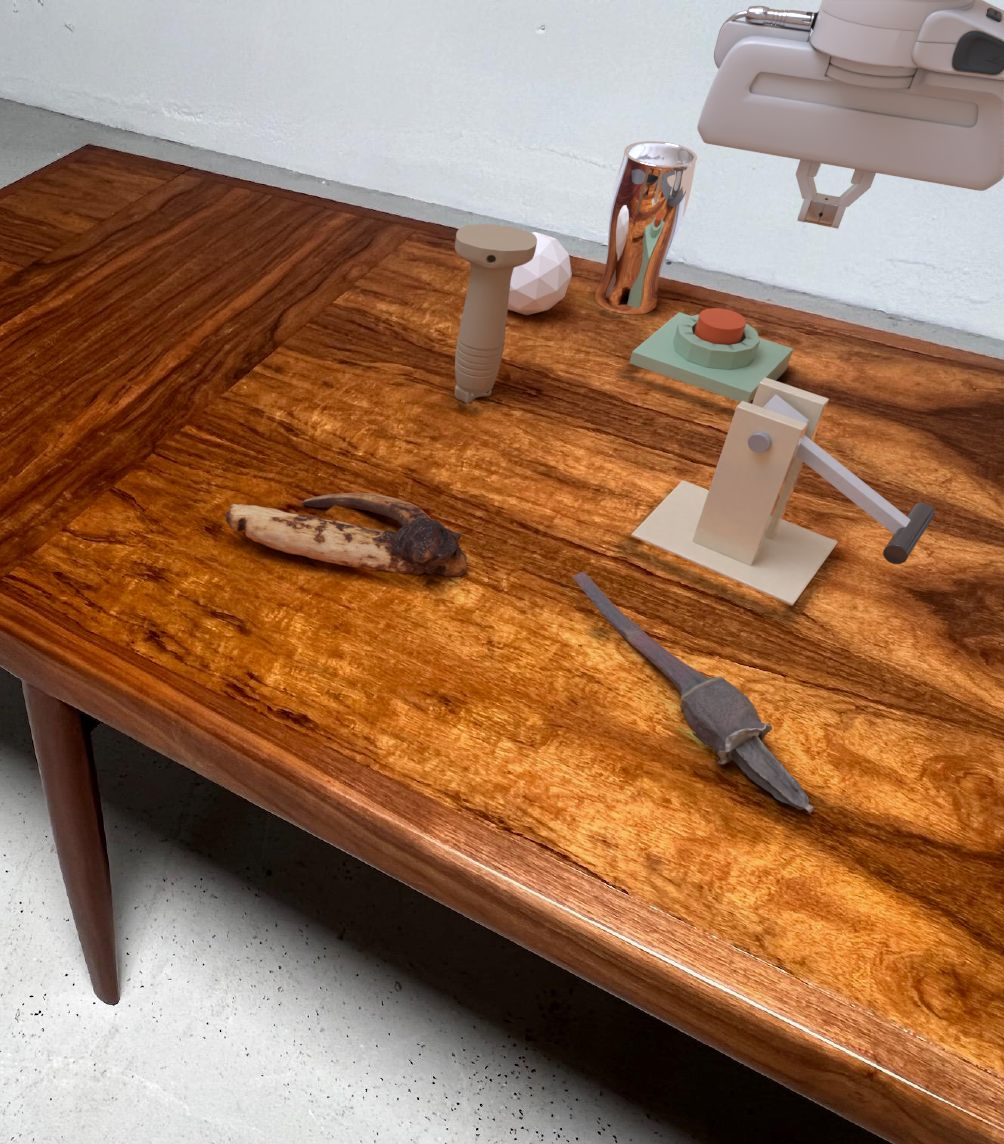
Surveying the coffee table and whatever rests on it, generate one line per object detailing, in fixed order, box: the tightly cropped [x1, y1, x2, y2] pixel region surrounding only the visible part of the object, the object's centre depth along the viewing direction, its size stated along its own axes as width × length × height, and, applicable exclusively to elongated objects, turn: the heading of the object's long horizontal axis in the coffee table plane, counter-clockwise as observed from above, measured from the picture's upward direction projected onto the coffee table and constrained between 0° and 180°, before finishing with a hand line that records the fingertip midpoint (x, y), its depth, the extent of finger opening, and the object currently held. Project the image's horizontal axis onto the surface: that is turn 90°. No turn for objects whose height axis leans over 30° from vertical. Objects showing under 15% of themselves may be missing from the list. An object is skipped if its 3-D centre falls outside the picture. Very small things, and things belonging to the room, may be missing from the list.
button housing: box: [629, 311, 794, 403], centre depth 102 cm, size 11×10×4 cm
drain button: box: [694, 307, 747, 345], centre depth 100 cm, size 4×4×2 cm
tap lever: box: [763, 394, 936, 565], centre depth 75 cm, size 13×6×2 cm, turn 49°
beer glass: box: [594, 140, 698, 316], centre depth 109 cm, size 7×7×15 cm
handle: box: [454, 223, 537, 405], centre depth 95 cm, size 5×6×15 cm
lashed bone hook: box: [225, 492, 468, 577], centre depth 83 cm, size 9×5×18 cm
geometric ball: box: [508, 231, 573, 316], centre depth 110 cm, size 8×8×8 cm
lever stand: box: [630, 377, 839, 607], centre depth 79 cm, size 12×9×13 cm
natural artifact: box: [572, 571, 815, 814], centre depth 71 cm, size 4×23×4 cm
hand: (818, 222), depth 83 cm, fingers closed
